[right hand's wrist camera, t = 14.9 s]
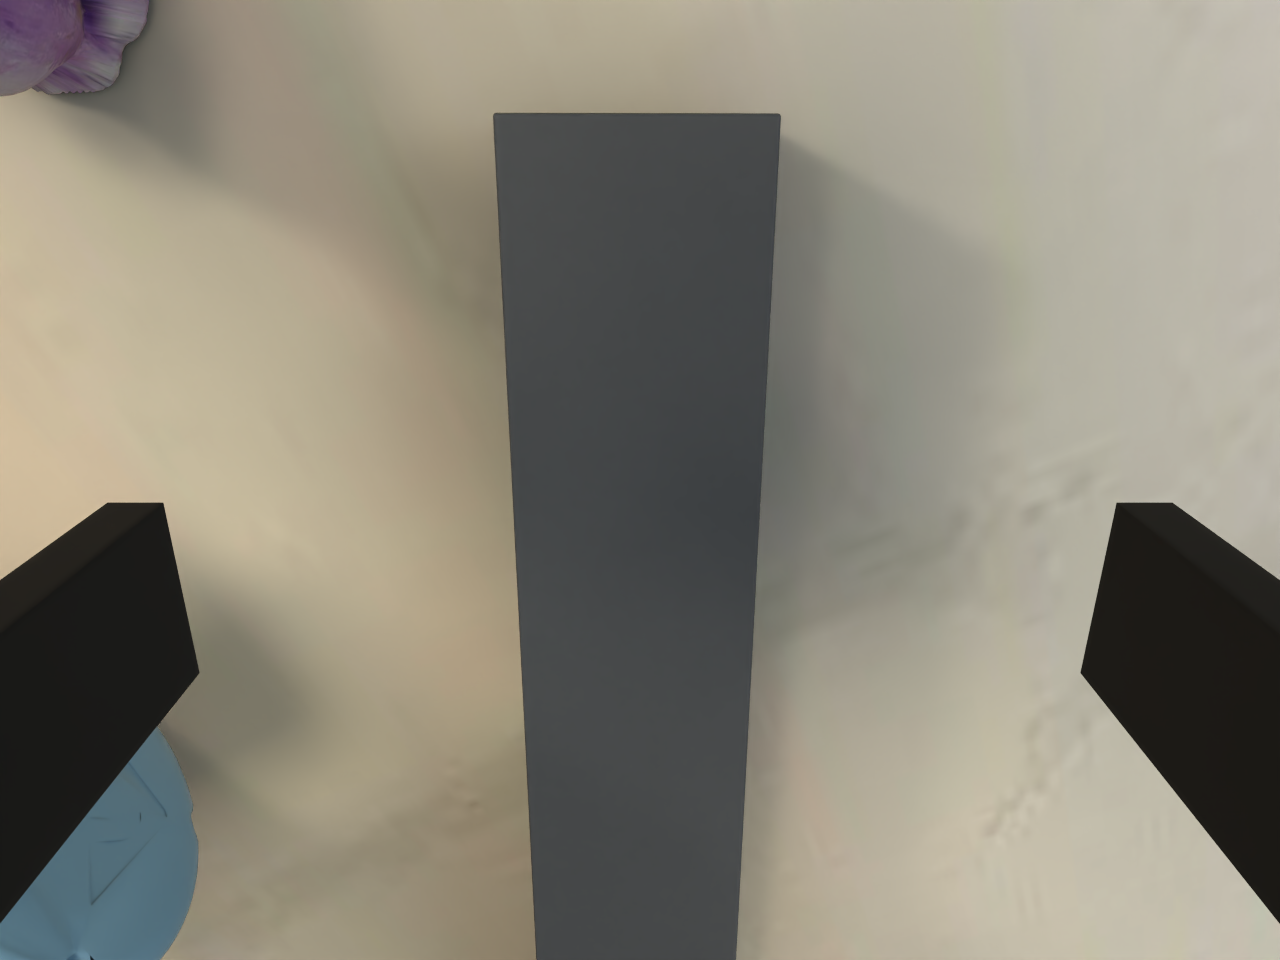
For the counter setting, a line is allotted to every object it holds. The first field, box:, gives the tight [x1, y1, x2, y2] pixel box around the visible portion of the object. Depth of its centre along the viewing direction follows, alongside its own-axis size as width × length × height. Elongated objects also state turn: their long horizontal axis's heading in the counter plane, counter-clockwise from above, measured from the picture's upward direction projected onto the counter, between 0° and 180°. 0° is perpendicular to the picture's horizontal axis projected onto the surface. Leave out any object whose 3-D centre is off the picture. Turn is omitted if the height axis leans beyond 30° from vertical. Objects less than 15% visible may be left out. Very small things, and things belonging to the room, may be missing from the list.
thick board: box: [493, 113, 781, 960], centre depth 43 cm, size 65×9×7 cm, turn 0°
